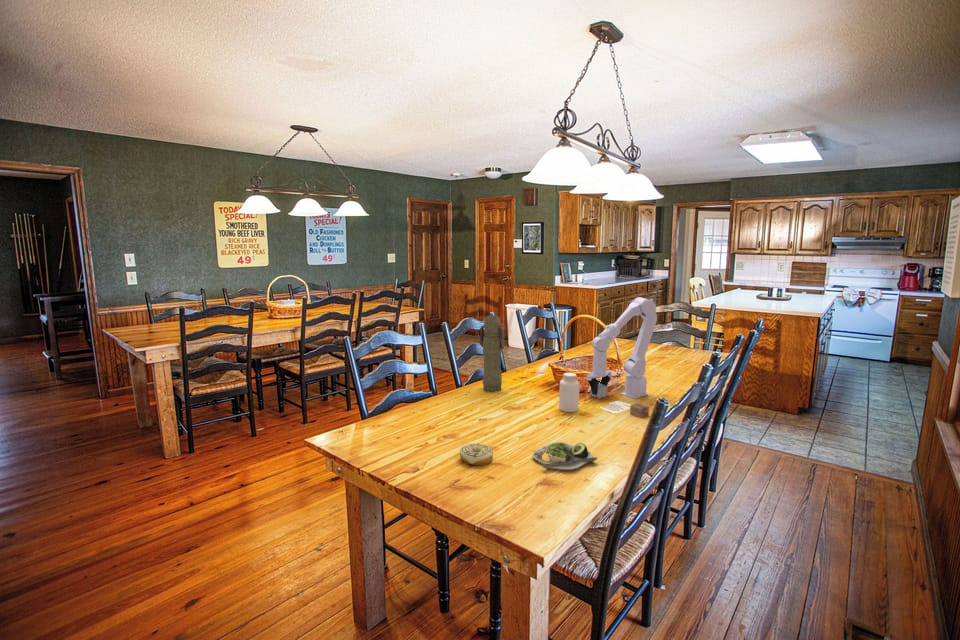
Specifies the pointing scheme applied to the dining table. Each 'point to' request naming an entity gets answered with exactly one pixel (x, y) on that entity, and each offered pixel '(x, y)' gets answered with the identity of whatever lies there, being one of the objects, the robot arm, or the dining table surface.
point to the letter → (616, 407)
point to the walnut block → (639, 410)
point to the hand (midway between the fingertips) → (598, 393)
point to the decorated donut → (476, 454)
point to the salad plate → (564, 456)
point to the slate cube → (600, 391)
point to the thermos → (492, 352)
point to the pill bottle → (569, 393)
